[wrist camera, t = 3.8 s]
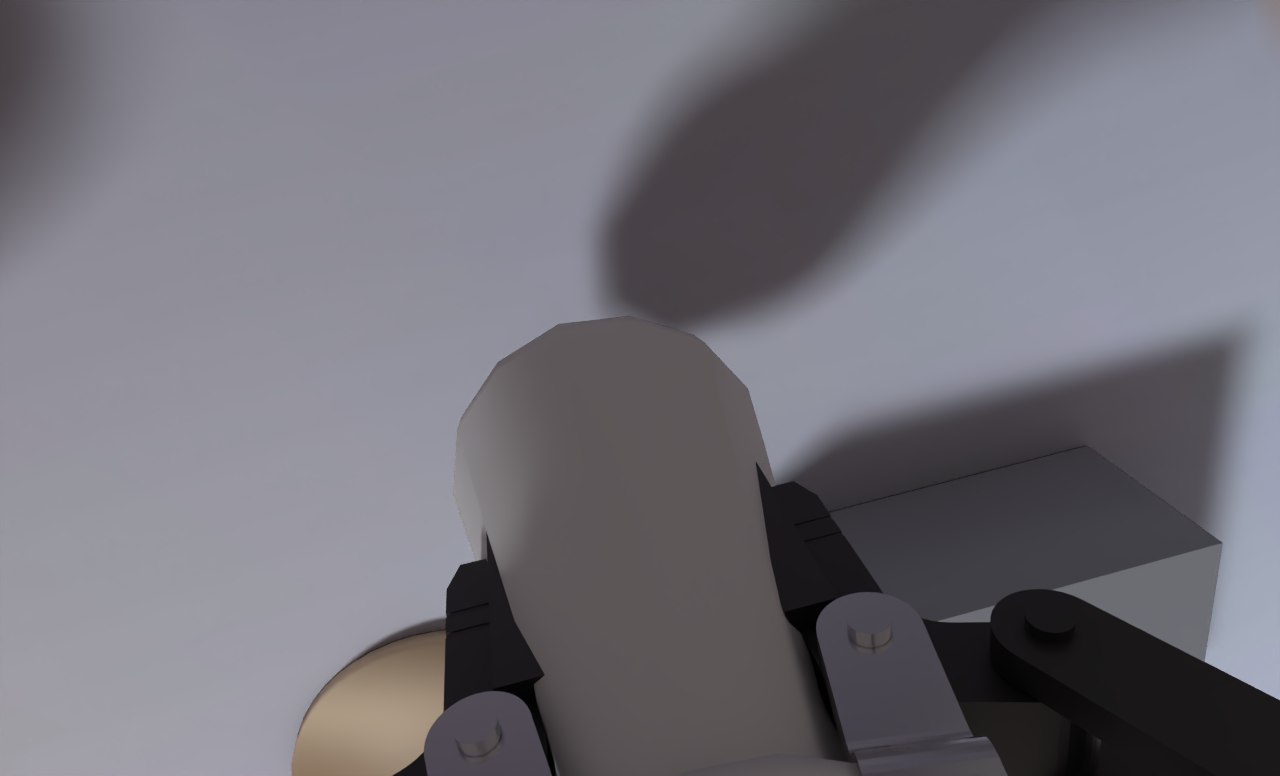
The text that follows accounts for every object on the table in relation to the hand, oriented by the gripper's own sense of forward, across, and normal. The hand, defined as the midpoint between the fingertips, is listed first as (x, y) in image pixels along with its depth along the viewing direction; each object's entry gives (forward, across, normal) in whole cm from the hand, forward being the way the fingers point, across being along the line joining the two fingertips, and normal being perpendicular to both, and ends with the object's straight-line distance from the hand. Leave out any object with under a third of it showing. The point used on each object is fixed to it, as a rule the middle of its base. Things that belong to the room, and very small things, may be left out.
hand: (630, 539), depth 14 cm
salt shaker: (+5, 0, 0) cm, 5 cm away
